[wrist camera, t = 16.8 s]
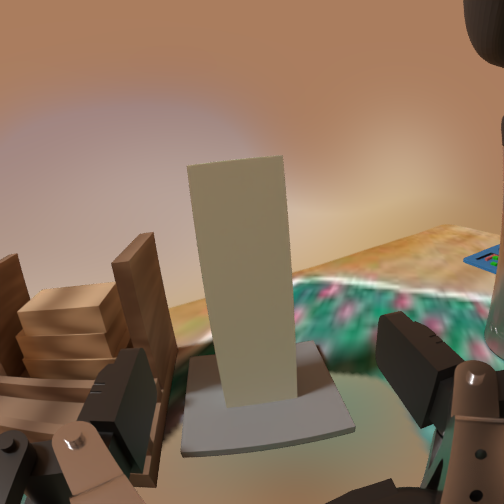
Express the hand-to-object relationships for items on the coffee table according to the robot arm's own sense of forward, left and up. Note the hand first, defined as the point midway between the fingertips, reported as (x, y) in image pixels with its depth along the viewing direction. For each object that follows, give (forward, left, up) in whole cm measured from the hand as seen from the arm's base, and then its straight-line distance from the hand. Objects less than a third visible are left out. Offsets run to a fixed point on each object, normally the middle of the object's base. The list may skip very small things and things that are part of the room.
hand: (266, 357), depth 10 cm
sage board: (0, -10, -10) cm, 14 cm away
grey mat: (0, -10, -10) cm, 14 cm away
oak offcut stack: (+15, -14, -9) cm, 22 cm away
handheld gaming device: (-42, -26, -11) cm, 51 cm away
